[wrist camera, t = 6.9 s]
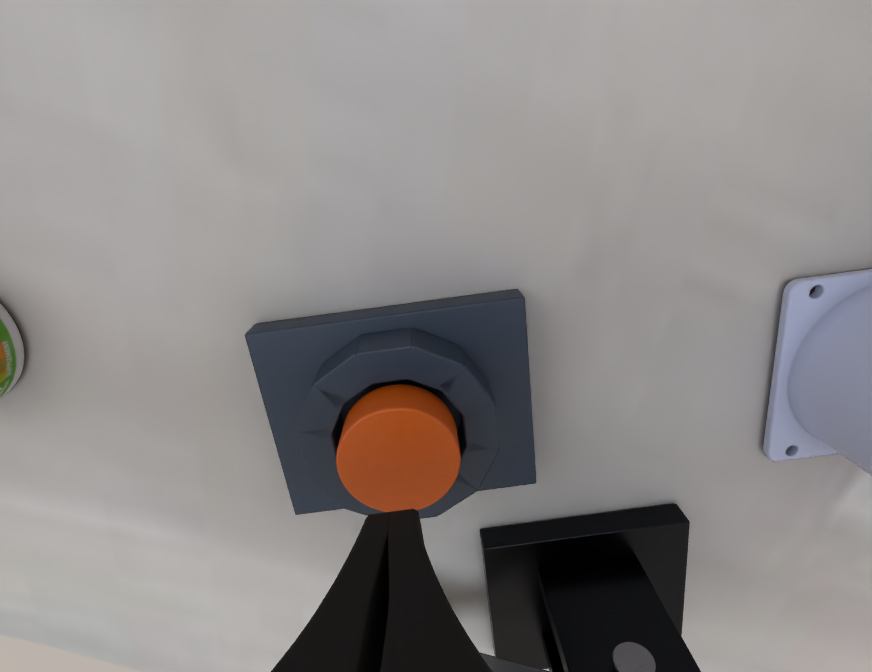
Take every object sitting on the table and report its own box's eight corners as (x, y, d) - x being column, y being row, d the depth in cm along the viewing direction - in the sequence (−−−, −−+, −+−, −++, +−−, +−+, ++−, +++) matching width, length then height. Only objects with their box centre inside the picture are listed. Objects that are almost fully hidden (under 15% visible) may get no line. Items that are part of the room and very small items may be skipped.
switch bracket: (494, 652, 25) (527, 859, 17) (479, 528, 22) (511, 714, 15) (668, 629, 25) (775, 827, 17) (676, 502, 22) (807, 675, 15)
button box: (518, 288, 18) (537, 311, 15) (530, 466, 21) (548, 514, 18) (253, 323, 18) (224, 353, 15) (301, 496, 21) (284, 549, 18)
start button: (449, 375, 16) (453, 400, 15) (462, 473, 18) (467, 505, 16) (332, 391, 16) (323, 417, 15) (354, 487, 18) (348, 521, 16)
